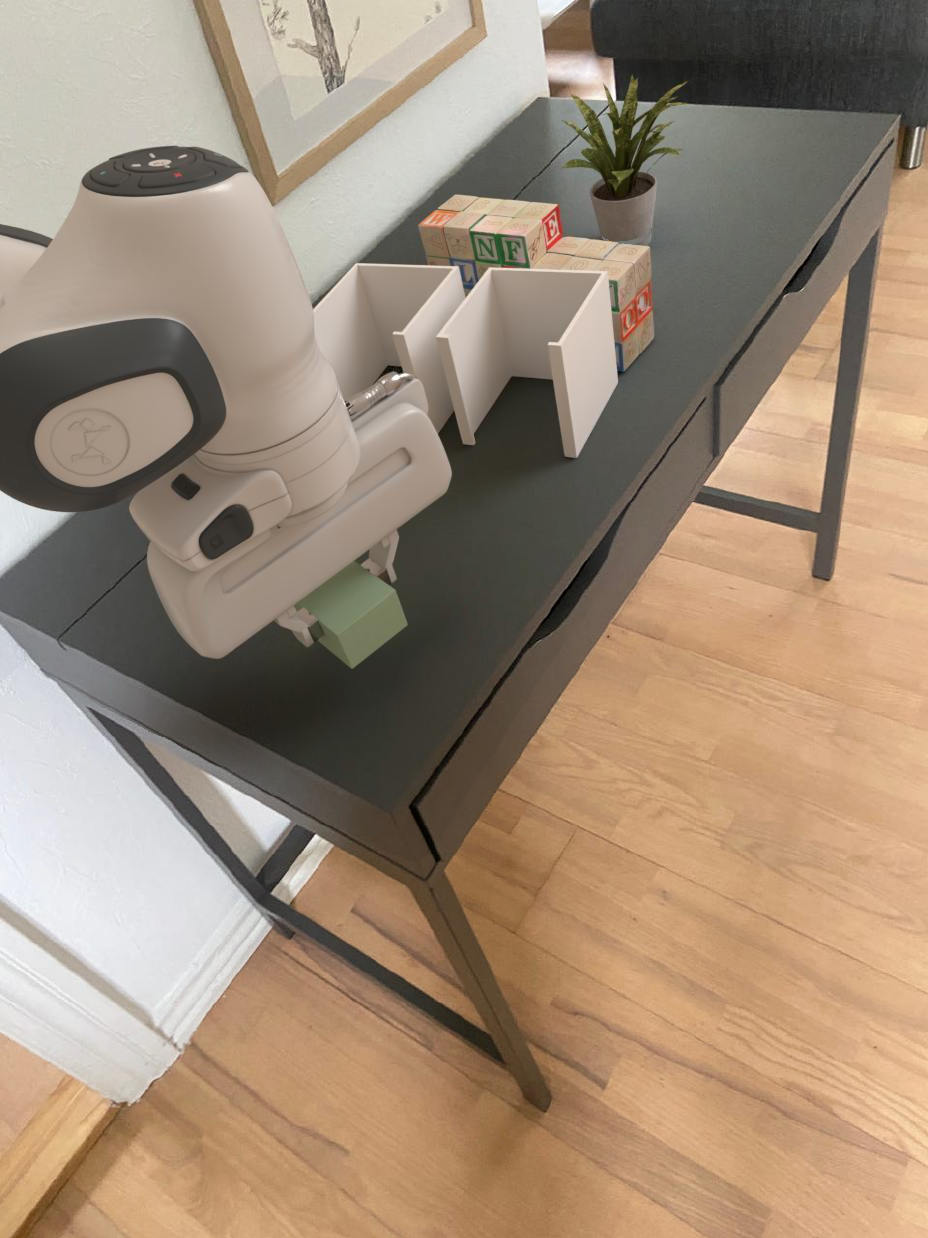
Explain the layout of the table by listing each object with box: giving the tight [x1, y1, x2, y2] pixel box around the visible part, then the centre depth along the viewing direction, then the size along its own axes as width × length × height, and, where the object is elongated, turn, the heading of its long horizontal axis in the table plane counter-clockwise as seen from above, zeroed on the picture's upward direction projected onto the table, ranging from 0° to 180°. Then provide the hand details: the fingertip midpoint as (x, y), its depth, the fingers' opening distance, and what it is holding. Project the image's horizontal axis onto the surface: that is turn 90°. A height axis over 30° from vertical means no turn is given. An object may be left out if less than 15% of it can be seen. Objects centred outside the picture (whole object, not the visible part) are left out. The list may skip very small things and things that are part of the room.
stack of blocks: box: [417, 194, 655, 373], centre depth 87 cm, size 21×6×12 cm, turn 54°
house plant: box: [560, 73, 689, 246], centre depth 94 cm, size 14×14×16 cm
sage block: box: [294, 560, 409, 670], centre depth 63 cm, size 5×8×4 cm, turn 42°
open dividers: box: [313, 262, 619, 459], centre depth 82 cm, size 25×11×11 cm, turn 65°
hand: (346, 609), depth 62 cm, fingers closed on sage block, 5 cm apart
